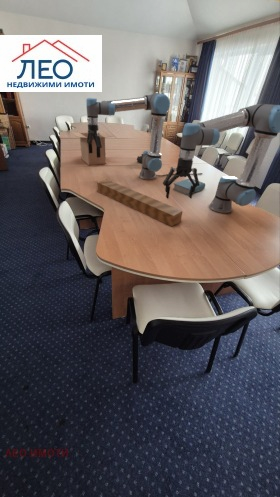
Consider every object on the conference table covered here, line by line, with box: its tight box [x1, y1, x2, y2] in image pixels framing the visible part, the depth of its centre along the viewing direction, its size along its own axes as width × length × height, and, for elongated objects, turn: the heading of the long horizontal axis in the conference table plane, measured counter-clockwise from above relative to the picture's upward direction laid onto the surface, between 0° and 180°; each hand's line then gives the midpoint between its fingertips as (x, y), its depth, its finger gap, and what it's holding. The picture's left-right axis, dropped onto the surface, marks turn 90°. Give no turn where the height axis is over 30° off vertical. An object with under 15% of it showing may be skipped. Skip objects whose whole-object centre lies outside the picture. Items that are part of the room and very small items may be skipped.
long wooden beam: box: [96, 178, 183, 227], centre depth 155 cm, size 72×10×7 cm, turn 48°
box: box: [70, 130, 114, 166], centre depth 229 cm, size 44×36×27 cm
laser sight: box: [136, 153, 143, 164], centre depth 240 cm, size 10×22×10 cm, turn 78°
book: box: [173, 178, 206, 196], centre depth 186 cm, size 23×16×5 cm
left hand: (94, 155), depth 171 cm, fingers open, 13 cm apart
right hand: (178, 197), depth 124 cm, fingers open, 13 cm apart
